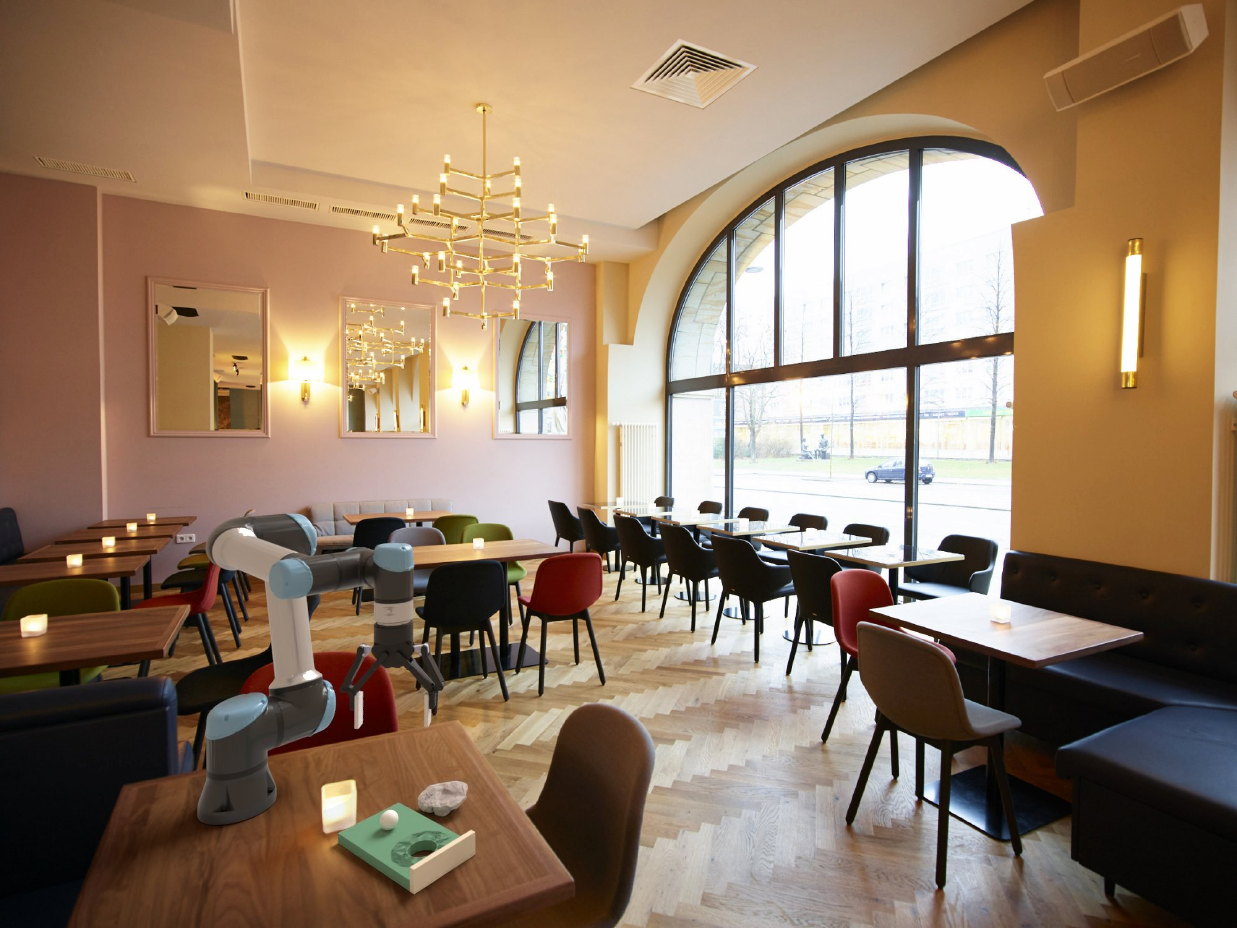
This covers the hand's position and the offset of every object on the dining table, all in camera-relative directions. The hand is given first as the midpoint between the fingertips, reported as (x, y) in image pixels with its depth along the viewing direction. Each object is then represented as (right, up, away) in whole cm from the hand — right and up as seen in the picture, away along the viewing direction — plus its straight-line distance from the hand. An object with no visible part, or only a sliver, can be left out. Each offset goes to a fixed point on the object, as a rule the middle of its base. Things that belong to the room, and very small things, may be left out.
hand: (393, 725), depth 127 cm
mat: (+3, -24, -2) cm, 24 cm away
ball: (-1, -20, +1) cm, 20 cm away
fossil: (+7, -24, +12) cm, 28 cm away
